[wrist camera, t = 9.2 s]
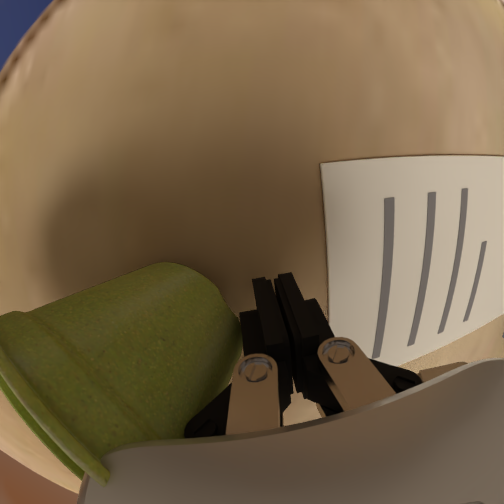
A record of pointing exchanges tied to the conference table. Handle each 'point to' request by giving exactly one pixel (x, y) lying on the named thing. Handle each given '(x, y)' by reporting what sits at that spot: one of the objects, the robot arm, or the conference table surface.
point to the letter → (413, 250)
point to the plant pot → (119, 362)
